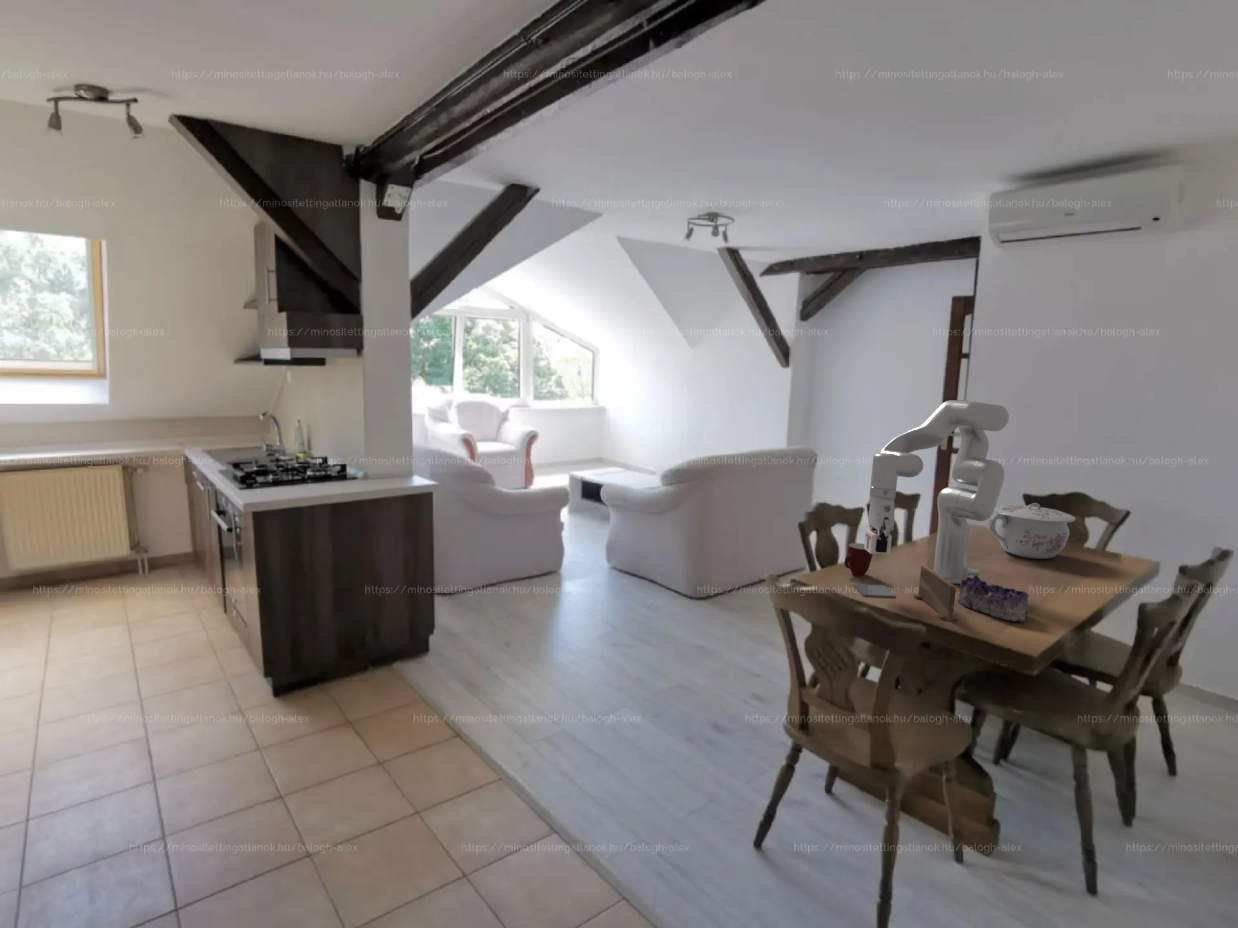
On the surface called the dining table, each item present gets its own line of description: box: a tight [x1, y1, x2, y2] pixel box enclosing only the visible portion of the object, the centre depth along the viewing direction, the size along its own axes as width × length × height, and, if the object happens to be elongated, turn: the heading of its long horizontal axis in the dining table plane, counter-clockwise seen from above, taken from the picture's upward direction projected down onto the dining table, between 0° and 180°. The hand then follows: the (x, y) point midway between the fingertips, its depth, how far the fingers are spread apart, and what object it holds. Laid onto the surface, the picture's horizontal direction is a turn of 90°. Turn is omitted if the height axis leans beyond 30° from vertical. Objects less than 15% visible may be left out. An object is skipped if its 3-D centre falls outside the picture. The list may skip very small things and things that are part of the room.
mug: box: [844, 542, 874, 577], centre depth 230 cm, size 11×8×10 cm
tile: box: [852, 583, 896, 598], centre depth 213 cm, size 10×10×1 cm
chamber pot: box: [988, 502, 1076, 560], centre depth 262 cm, size 28×28×21 cm
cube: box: [863, 529, 893, 555], centre depth 211 cm, size 6×6×6 cm
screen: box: [912, 565, 959, 622], centre depth 199 cm, size 5×20×10 cm, turn 178°
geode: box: [957, 575, 1029, 624], centre depth 198 cm, size 20×12×10 cm, turn 38°
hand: (877, 548), depth 211 cm, fingers closed on cube, 6 cm apart
